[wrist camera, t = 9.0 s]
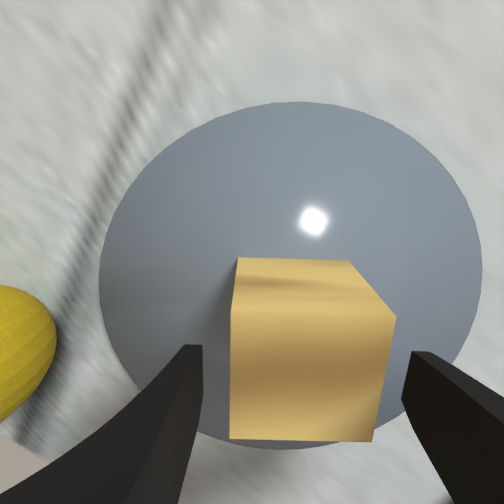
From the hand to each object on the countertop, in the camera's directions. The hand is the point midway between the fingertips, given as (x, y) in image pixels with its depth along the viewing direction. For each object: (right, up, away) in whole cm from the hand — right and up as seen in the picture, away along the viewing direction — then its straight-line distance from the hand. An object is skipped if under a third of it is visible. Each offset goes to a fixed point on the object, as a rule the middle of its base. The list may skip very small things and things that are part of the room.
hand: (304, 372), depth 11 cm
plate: (0, +2, +5) cm, 5 cm away
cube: (0, +2, +4) cm, 4 cm away
